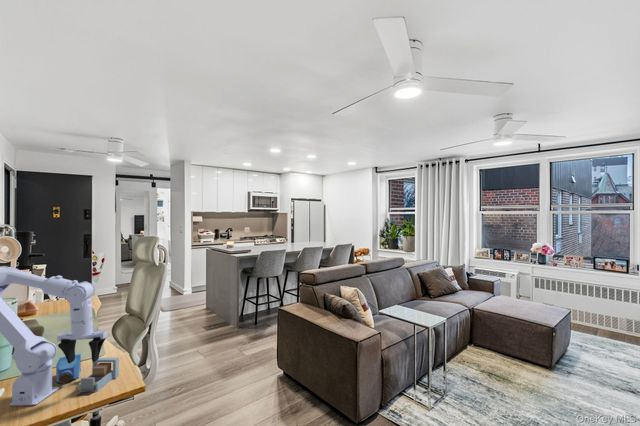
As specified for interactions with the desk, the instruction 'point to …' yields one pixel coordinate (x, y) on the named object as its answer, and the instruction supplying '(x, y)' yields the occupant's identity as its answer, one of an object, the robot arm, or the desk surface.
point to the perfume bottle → (68, 369)
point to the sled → (89, 383)
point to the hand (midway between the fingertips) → (83, 361)
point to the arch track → (104, 380)
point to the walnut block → (101, 370)
